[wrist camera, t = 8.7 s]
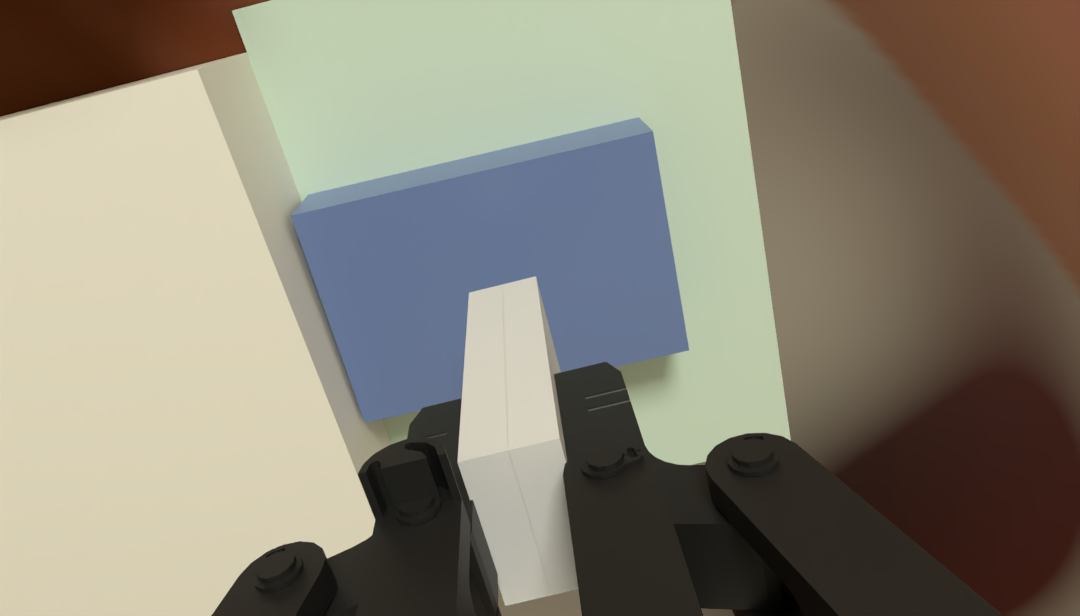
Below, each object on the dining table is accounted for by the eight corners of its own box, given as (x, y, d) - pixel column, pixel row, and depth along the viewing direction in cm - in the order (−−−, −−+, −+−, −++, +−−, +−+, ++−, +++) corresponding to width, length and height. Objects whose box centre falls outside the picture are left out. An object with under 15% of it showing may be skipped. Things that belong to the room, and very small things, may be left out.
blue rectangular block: (374, 388, 24) (364, 423, 22) (307, 194, 22) (291, 215, 20) (673, 320, 24) (689, 350, 22) (639, 117, 21) (653, 131, 19)
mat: (422, 522, 26) (422, 528, 26) (235, 10, 20) (231, 10, 20) (787, 436, 26) (790, 441, 25) (711, -116, 19) (714, -117, 19)
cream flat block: (-59, 608, 26) (-149, 712, 23) (-340, 205, 21) (-517, 255, 17) (413, 496, 26) (400, 585, 22) (250, 51, 20) (197, 69, 17)
